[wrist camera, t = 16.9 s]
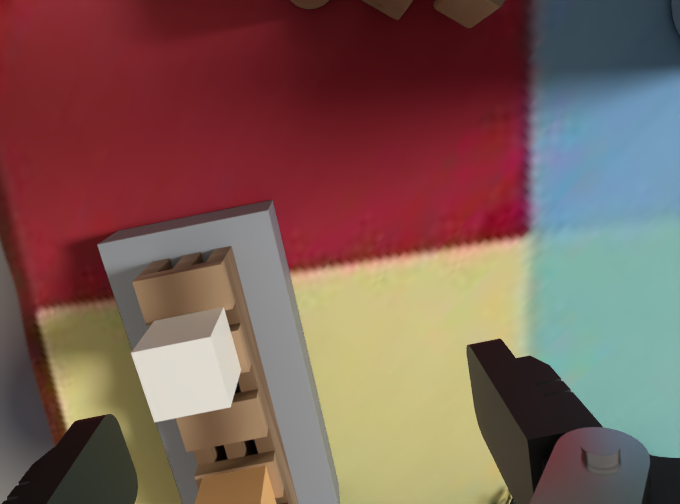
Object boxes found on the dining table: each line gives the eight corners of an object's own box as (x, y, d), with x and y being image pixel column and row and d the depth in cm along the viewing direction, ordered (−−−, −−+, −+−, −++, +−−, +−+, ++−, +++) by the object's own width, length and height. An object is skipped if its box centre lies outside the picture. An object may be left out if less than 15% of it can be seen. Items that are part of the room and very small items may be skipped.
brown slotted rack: (231, 245, 38) (220, 264, 34) (298, 504, 44) (296, 547, 40) (152, 261, 38) (132, 281, 34) (230, 517, 44) (221, 562, 40)
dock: (272, 199, 41) (267, 210, 37) (338, 484, 48) (340, 517, 44) (117, 230, 41) (97, 244, 38) (206, 509, 49) (196, 545, 45)
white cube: (223, 306, 34) (210, 336, 30) (241, 369, 36) (230, 407, 31) (154, 320, 35) (130, 352, 30) (174, 383, 36) (154, 422, 31)
